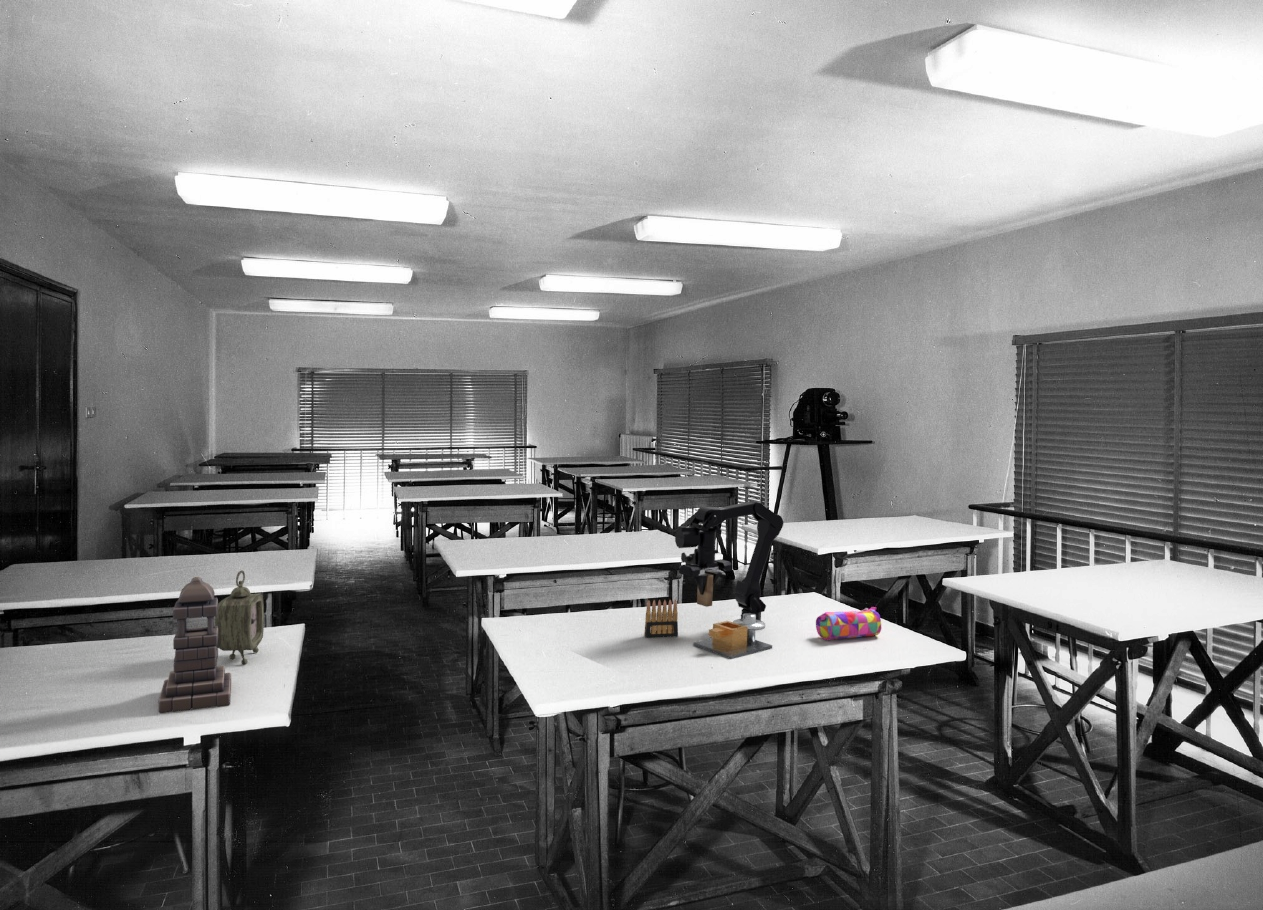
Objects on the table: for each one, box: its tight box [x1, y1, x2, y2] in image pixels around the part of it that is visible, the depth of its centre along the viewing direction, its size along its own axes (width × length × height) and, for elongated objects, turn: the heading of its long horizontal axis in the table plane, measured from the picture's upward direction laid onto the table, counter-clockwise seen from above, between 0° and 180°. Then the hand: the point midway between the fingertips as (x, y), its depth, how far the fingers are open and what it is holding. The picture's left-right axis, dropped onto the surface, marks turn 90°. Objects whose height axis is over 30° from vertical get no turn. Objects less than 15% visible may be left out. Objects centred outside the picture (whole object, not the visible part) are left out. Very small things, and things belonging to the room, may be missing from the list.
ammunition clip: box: [643, 598, 679, 639], centre depth 262 cm, size 11×2×12 cm, turn 102°
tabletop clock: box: [214, 570, 265, 666], centre depth 230 cm, size 14×9×25 cm, turn 9°
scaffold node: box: [693, 613, 773, 660], centre depth 254 cm, size 21×16×9 cm
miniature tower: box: [158, 576, 232, 714], centre depth 199 cm, size 16×15×30 cm
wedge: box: [696, 573, 714, 608], centre depth 267 cm, size 2×4×10 cm, turn 39°
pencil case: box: [815, 606, 882, 641], centre depth 267 cm, size 22×9×9 cm, turn 116°
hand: (704, 594), depth 267 cm, fingers closed on wedge, 2 cm apart
